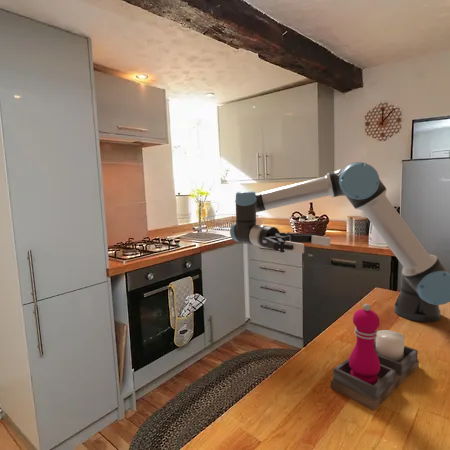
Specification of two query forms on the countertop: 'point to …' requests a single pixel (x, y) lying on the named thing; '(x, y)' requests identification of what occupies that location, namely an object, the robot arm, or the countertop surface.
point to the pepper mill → (365, 346)
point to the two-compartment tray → (386, 384)
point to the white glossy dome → (390, 345)
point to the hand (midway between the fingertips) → (317, 245)
